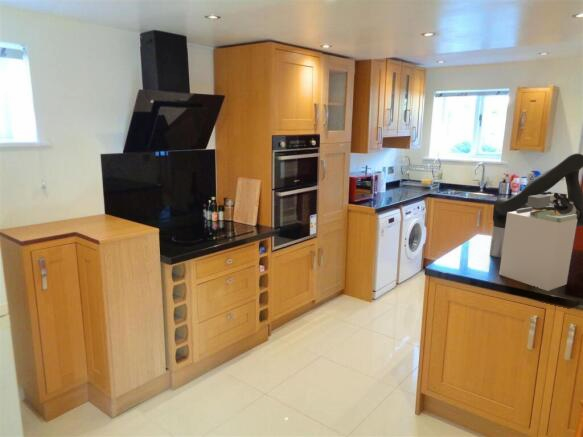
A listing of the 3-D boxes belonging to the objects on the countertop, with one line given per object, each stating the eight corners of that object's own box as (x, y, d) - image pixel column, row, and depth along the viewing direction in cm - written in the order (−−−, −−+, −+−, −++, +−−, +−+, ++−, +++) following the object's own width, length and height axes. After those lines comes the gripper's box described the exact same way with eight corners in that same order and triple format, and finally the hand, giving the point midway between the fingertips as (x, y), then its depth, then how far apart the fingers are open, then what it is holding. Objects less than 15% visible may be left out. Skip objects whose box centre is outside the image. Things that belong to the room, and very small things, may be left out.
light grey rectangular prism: (551, 202, 212) (552, 192, 211) (561, 203, 208) (563, 193, 207) (526, 206, 202) (528, 196, 200) (537, 208, 197) (538, 197, 196)
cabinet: (517, 268, 220) (526, 205, 213) (566, 284, 200) (578, 214, 192) (499, 274, 213) (507, 208, 205) (547, 290, 192) (559, 218, 185)
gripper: (554, 199, 221) (540, 184, 212) (583, 203, 210) (569, 188, 200) (548, 211, 221) (534, 198, 211) (576, 217, 209) (563, 203, 200)
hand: (551, 193), depth 206 cm, fingers closed on light grey rectangular prism, 2 cm apart
